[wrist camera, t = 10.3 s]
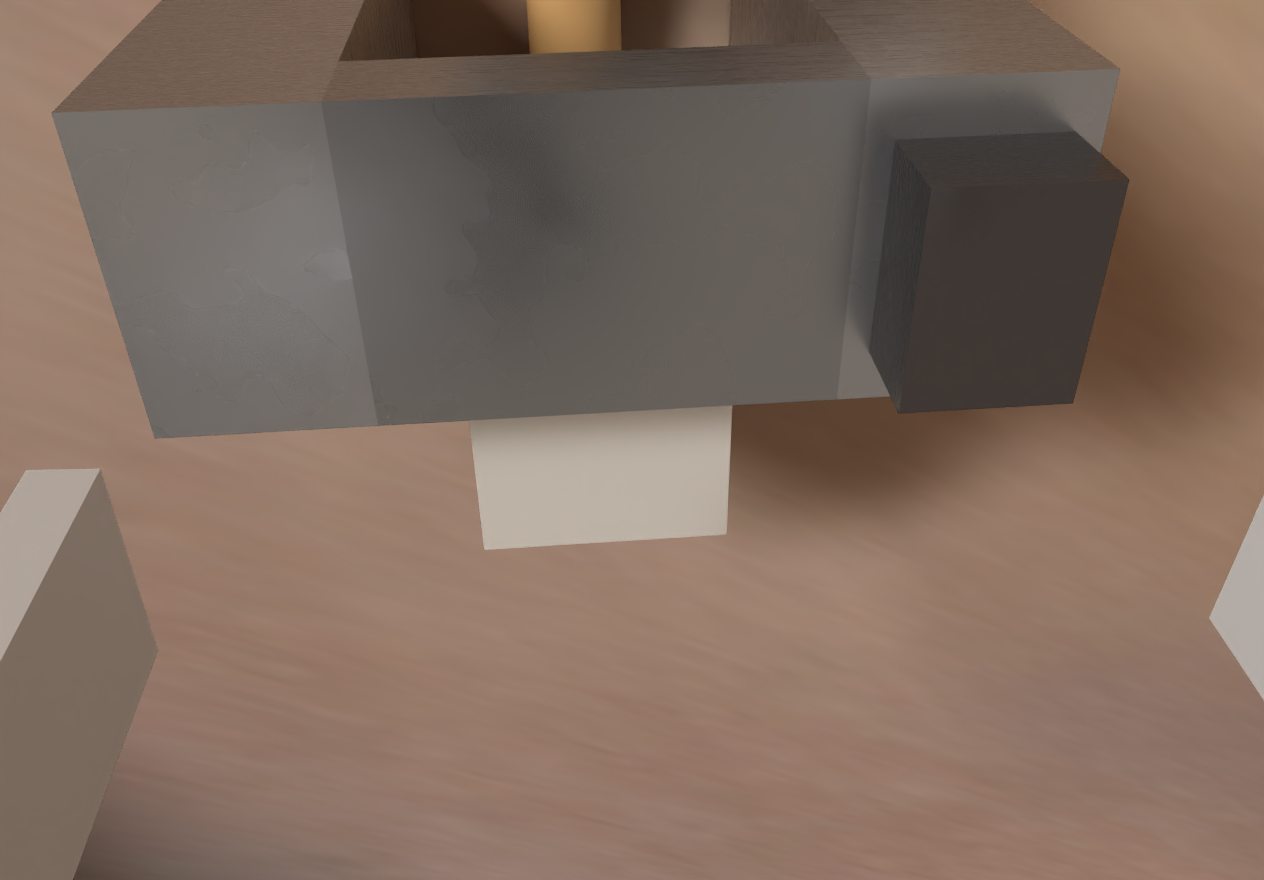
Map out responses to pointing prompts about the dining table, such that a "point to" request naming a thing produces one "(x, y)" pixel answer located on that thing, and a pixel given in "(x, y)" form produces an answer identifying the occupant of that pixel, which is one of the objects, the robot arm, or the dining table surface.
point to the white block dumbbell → (599, 418)
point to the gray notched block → (594, 214)
